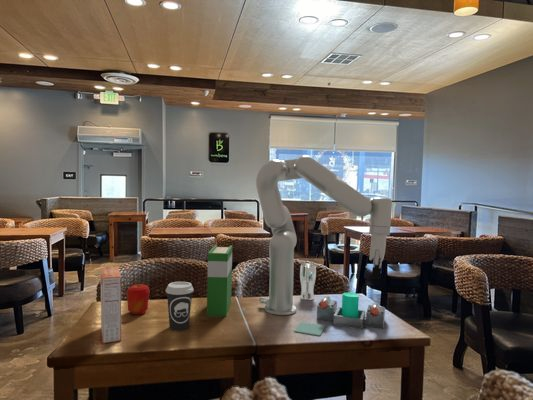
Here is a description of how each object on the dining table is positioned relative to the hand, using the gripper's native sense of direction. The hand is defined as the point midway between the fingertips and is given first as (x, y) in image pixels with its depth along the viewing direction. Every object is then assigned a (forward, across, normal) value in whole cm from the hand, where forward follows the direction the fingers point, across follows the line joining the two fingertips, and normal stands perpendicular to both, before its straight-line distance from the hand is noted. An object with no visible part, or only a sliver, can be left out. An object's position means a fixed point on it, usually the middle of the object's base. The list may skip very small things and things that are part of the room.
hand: (376, 278), depth 146 cm
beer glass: (+17, -14, -30) cm, 37 cm away
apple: (+18, +31, -84) cm, 92 cm away
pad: (+16, +20, -20) cm, 33 cm away
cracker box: (+18, +52, -79) cm, 96 cm away
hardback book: (+18, +14, -58) cm, 63 cm away
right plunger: (+10, +9, +1) cm, 14 cm away
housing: (+16, +6, -8) cm, 19 cm away
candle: (+16, +8, -8) cm, 20 cm away
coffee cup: (+18, +37, -62) cm, 75 cm away
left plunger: (+11, +9, -17) cm, 22 cm away
